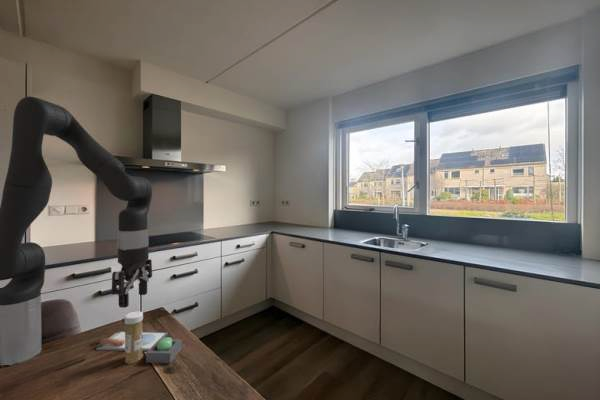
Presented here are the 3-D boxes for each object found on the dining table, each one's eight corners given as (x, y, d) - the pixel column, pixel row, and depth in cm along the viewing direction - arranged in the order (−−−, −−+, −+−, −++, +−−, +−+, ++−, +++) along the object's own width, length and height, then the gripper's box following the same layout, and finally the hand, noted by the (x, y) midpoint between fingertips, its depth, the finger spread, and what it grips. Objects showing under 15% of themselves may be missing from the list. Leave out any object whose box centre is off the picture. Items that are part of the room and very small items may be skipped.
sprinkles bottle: (143, 360, 75) (143, 315, 75) (124, 366, 73) (124, 319, 72) (142, 352, 79) (142, 309, 79) (124, 357, 76) (124, 312, 76)
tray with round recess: (96, 350, 79) (96, 347, 79) (119, 332, 89) (119, 329, 89) (151, 352, 79) (151, 348, 79) (168, 334, 89) (168, 330, 89)
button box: (146, 362, 74) (146, 352, 74) (159, 348, 81) (159, 338, 81) (170, 363, 74) (170, 353, 74) (181, 348, 81) (181, 339, 81)
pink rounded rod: (100, 344, 81) (101, 339, 81) (104, 341, 82) (105, 336, 82) (122, 346, 81) (122, 341, 80) (125, 343, 82) (126, 338, 82)
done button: (154, 354, 76) (154, 344, 76) (161, 346, 80) (161, 337, 80) (167, 355, 76) (167, 345, 76) (174, 346, 80) (174, 337, 80)
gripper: (136, 240, 82) (136, 290, 82) (101, 250, 68) (102, 311, 68) (159, 240, 82) (160, 291, 82) (129, 251, 68) (130, 312, 68)
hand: (133, 300), depth 75 cm, fingers open, 8 cm apart
